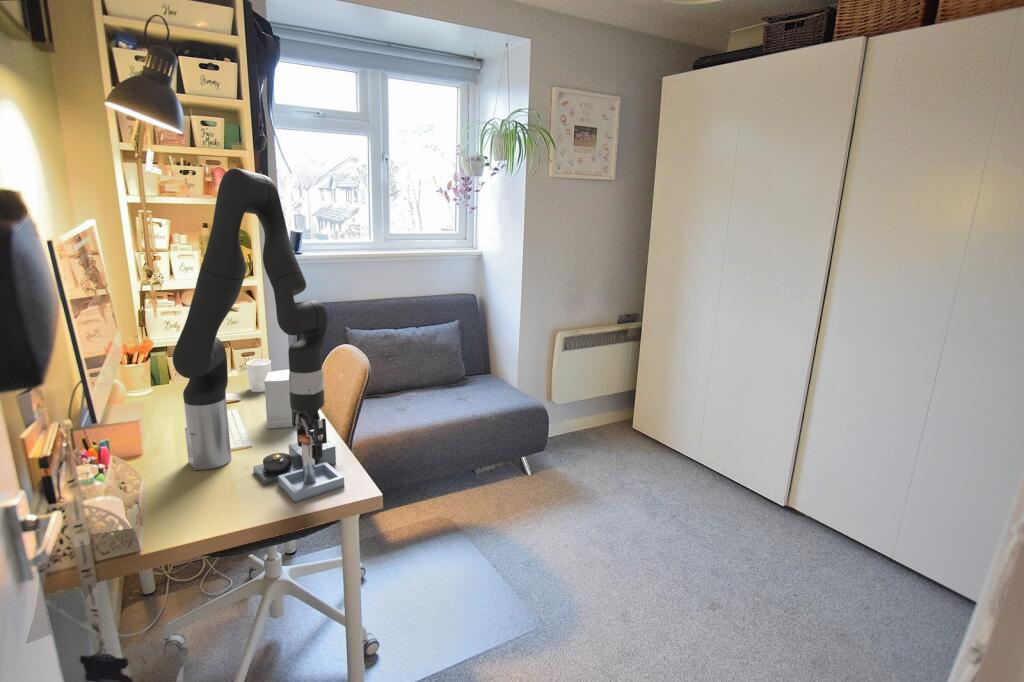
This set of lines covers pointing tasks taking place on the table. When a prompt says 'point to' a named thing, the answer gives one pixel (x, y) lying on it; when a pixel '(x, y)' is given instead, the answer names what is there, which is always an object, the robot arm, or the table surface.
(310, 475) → the pin
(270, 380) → the supplement box
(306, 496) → the parts tray
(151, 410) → the table surface
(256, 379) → the white cup
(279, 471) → the block
